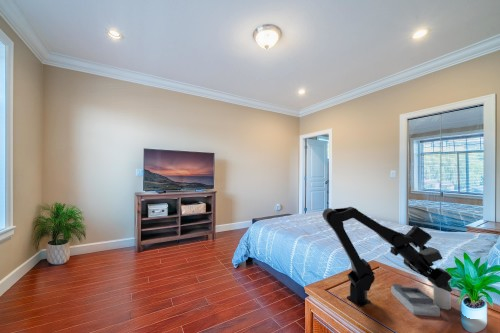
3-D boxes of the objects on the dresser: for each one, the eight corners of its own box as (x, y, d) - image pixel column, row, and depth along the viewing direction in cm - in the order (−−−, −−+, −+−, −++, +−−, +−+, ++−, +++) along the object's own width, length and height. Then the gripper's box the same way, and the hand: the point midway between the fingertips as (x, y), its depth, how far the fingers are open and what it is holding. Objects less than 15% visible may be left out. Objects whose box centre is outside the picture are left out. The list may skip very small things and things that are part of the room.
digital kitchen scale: (413, 314, 77) (413, 302, 78) (391, 292, 91) (391, 283, 91) (439, 316, 77) (439, 304, 77) (413, 294, 91) (413, 284, 91)
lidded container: (440, 309, 81) (439, 273, 81) (429, 301, 86) (429, 267, 86) (454, 310, 80) (454, 274, 81) (443, 301, 85) (443, 268, 86)
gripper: (445, 249, 75) (480, 283, 74) (410, 234, 94) (437, 260, 92) (421, 271, 75) (456, 304, 74) (391, 251, 94) (418, 278, 93)
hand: (441, 284), depth 83 cm, fingers open, 9 cm apart
